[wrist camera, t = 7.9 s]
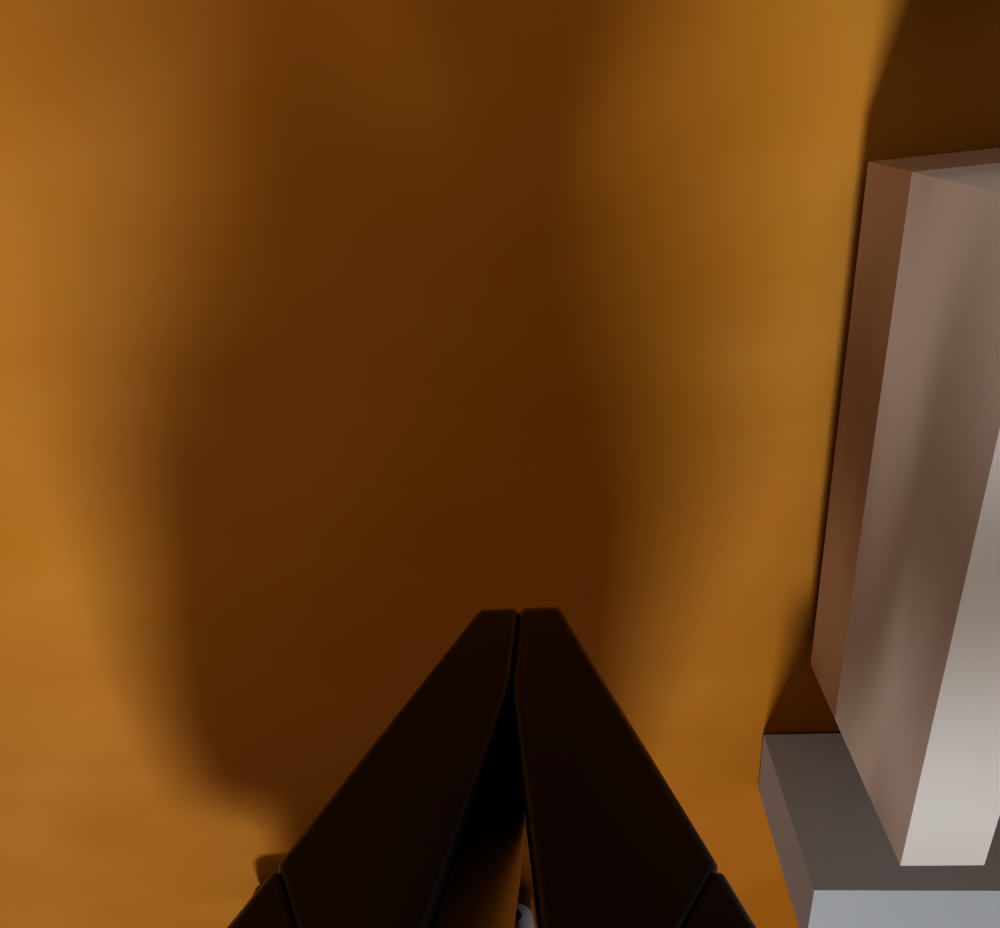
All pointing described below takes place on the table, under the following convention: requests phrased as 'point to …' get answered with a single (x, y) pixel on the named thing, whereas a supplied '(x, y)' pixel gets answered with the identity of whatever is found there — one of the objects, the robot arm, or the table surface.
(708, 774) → the table surface
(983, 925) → the bay
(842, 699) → the l-shaped bracket
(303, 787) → the table surface
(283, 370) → the table surface
